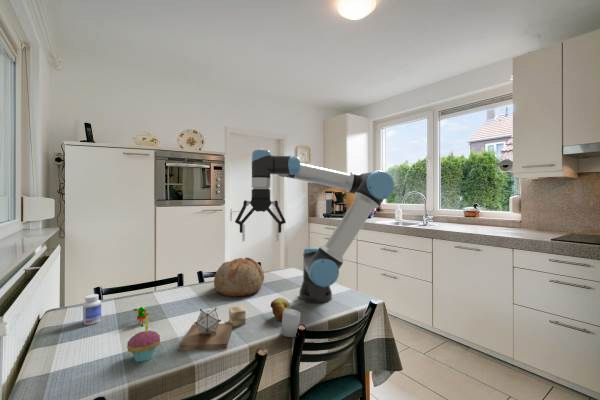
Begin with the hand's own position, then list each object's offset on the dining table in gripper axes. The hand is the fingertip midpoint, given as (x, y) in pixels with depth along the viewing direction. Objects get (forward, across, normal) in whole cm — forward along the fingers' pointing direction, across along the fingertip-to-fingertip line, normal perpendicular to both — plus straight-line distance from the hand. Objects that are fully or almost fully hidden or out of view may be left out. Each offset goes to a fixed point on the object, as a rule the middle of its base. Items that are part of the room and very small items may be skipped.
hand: (260, 240), depth 117 cm
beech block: (+29, +8, +10) cm, 32 cm away
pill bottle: (+29, +61, +6) cm, 68 cm away
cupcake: (+29, +32, +31) cm, 53 cm away
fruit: (+29, -8, +8) cm, 31 cm away
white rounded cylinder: (+28, -11, +20) cm, 37 cm away
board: (+29, +16, +21) cm, 39 cm away
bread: (+29, +11, -28) cm, 42 cm away
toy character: (+29, +42, +9) cm, 52 cm away
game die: (+27, +16, +21) cm, 38 cm away
